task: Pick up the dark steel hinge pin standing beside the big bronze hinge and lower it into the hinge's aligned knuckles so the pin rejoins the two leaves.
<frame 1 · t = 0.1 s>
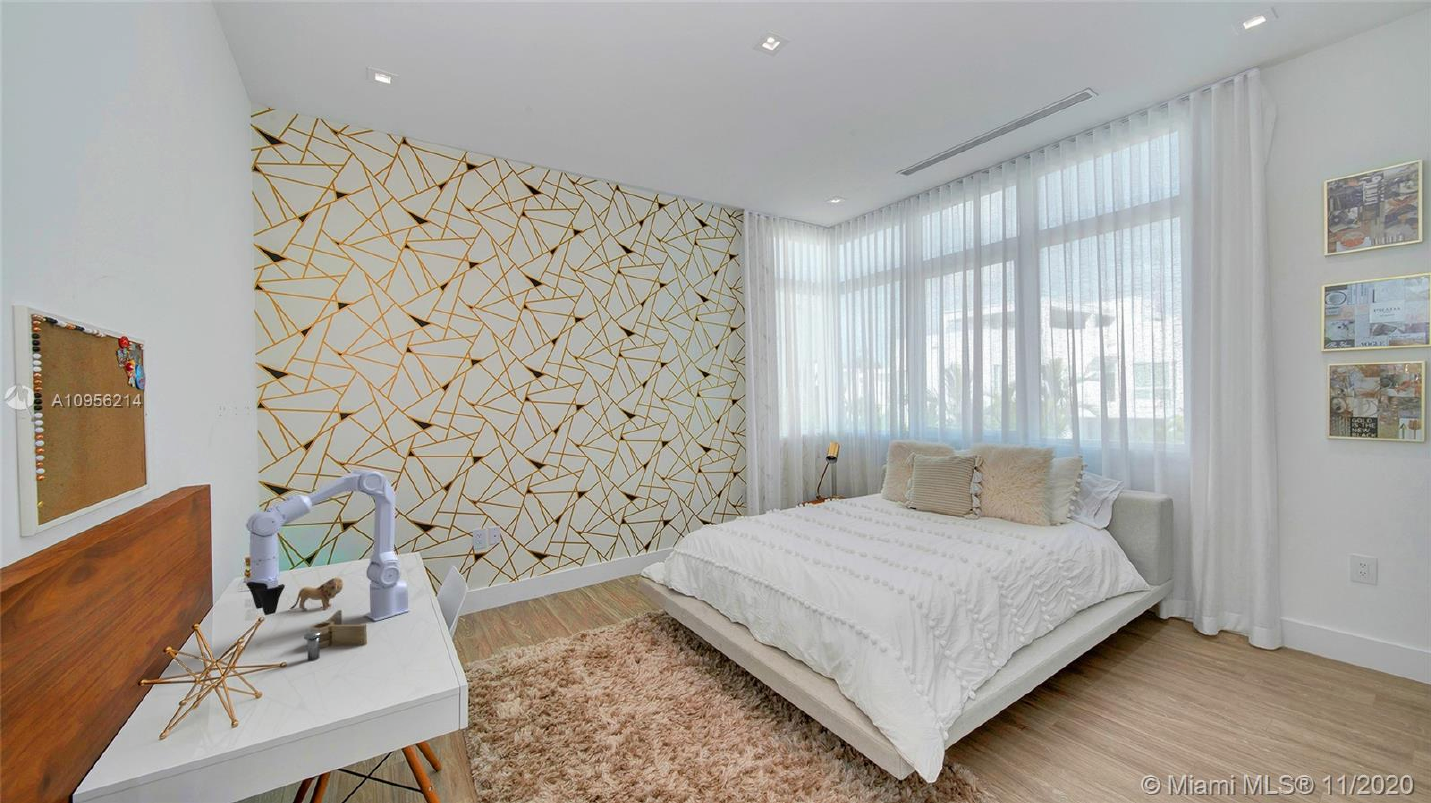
hand: (265, 610, 140), 10 cm above the table, tool pointing down, fingers open, 7 cm apart
leaf b: (329, 627, 147), point 2 cm above the table, hinge at 0.0°
hinge pin: (313, 658, 134), on the table
leaf a: (322, 644, 142), on the table
lion figurine: (319, 608, 169), on the table
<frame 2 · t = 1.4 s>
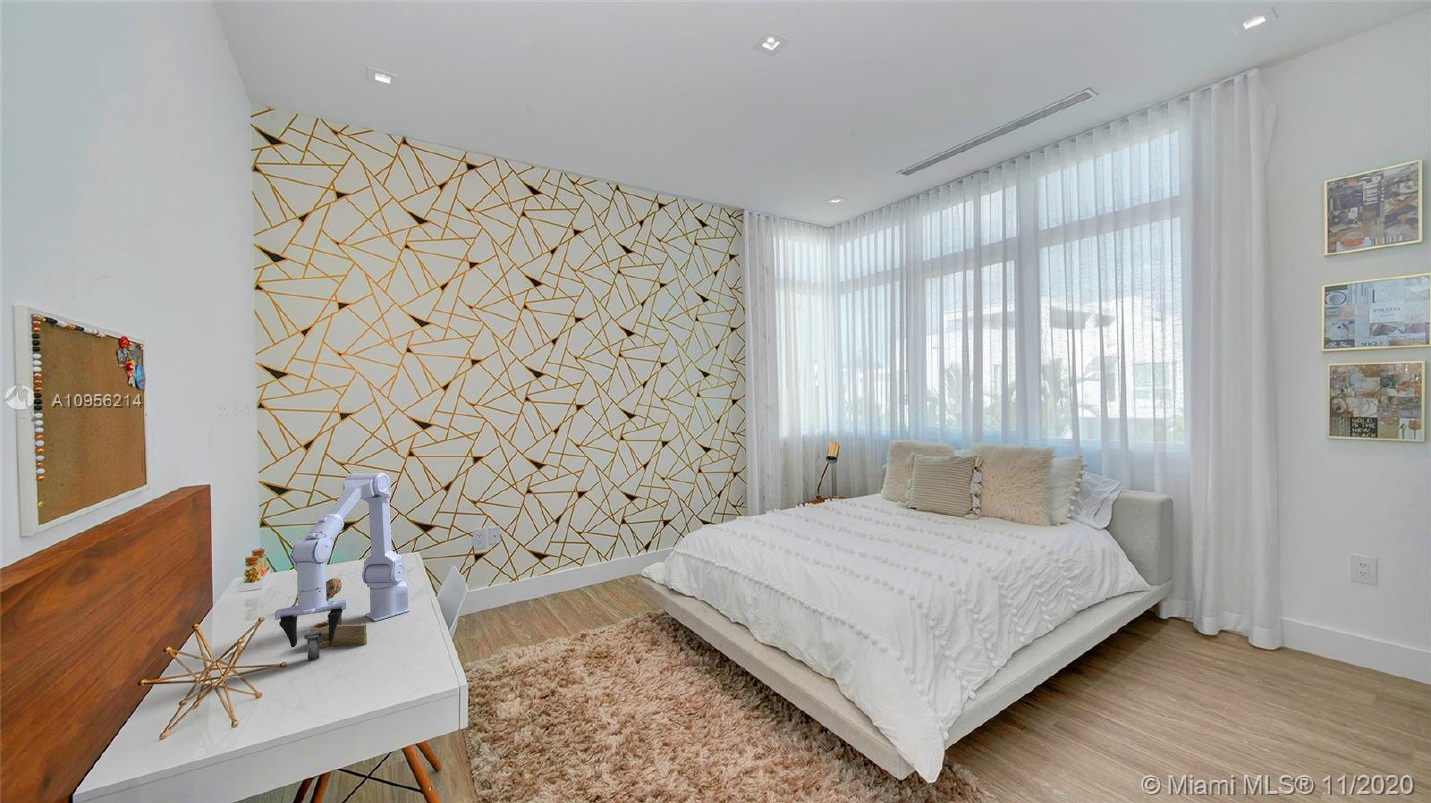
hand: (313, 642, 134), 4 cm above the table, tool pointing down, fingers open, 7 cm apart
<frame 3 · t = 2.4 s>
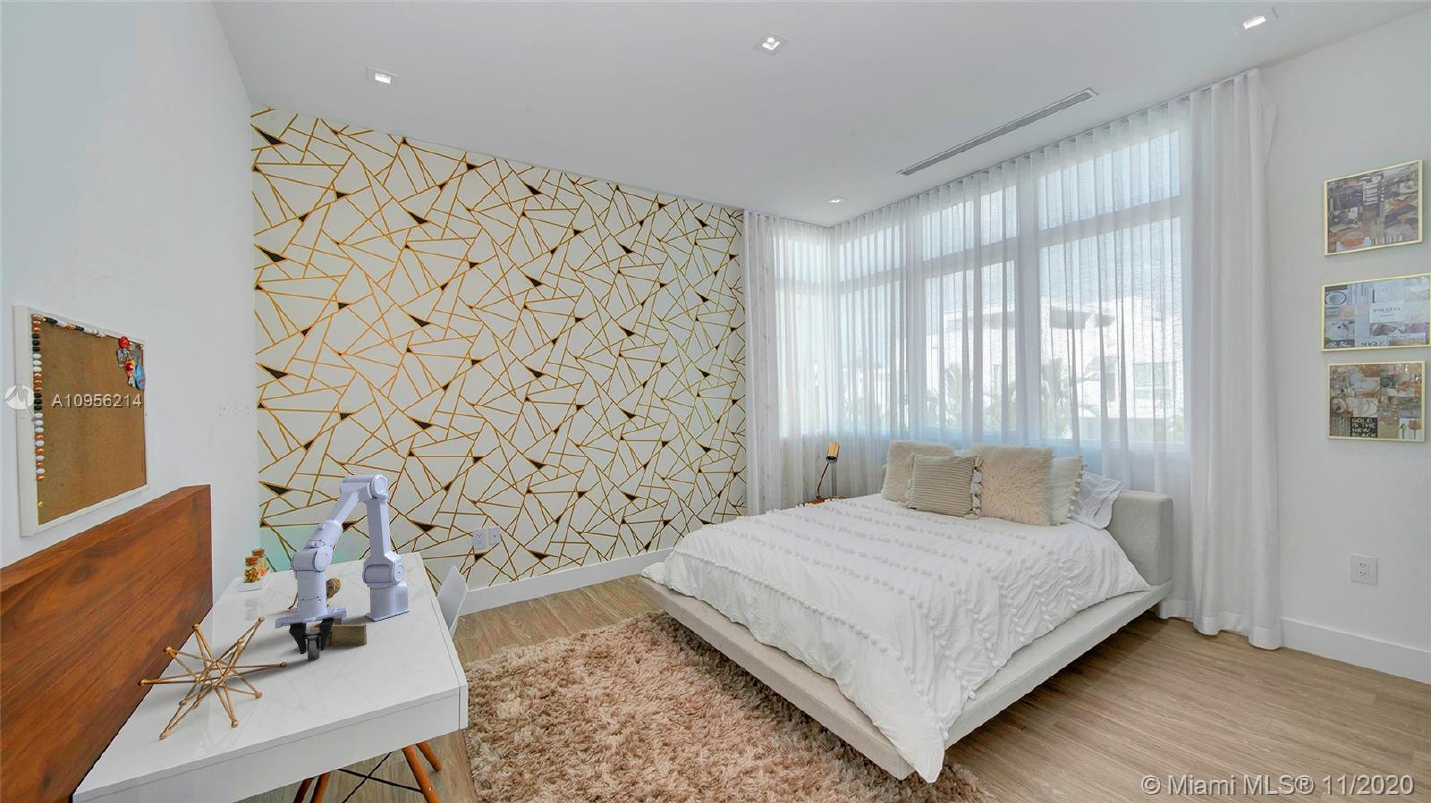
hand: (313, 650, 134), 2 cm above the table, tool pointing down, fingers closed on hinge pin, 3 cm apart
hinge pin: (313, 658, 134), on the table, touching gripper
everything else where it was.
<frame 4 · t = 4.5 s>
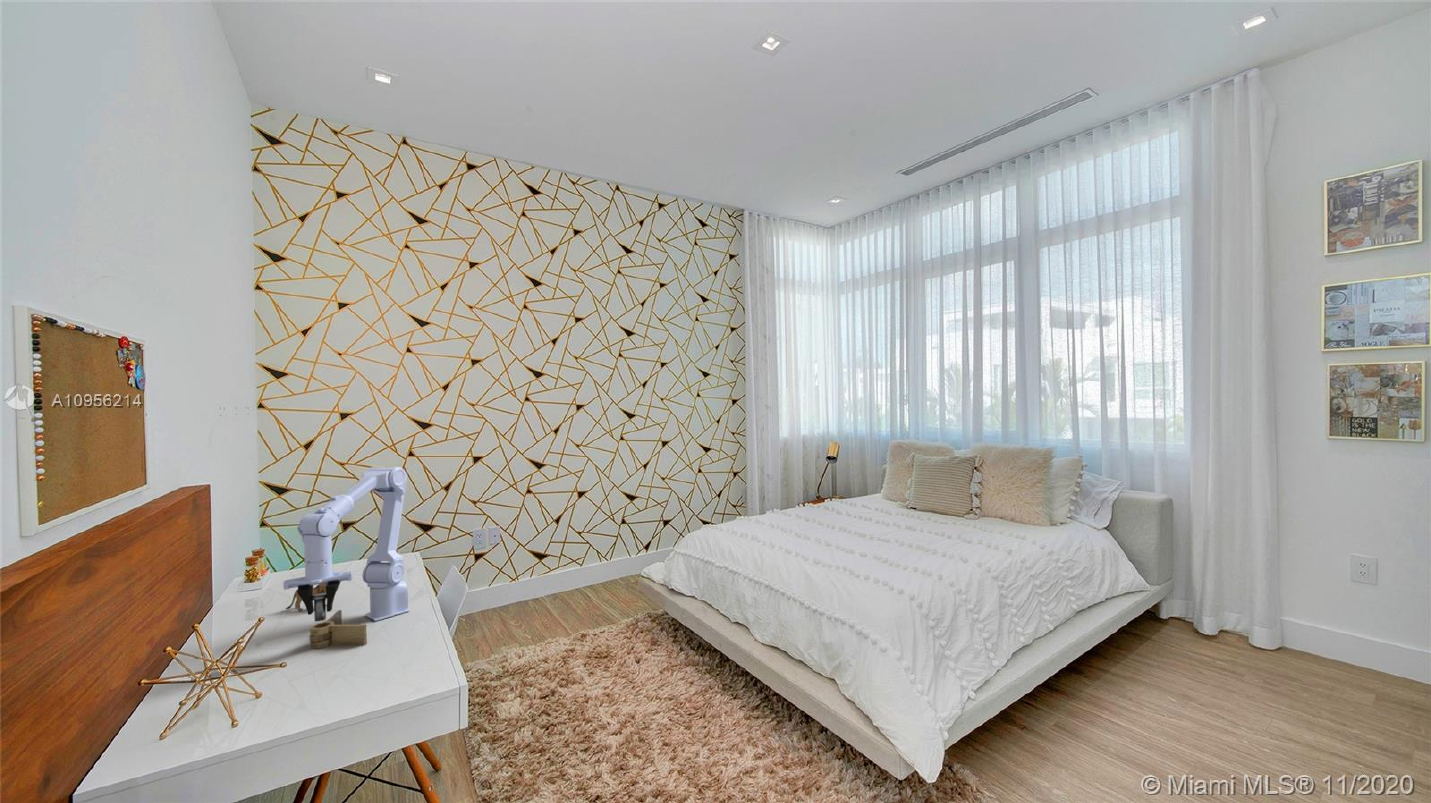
hand: (320, 611, 140), 9 cm above the table, tool pointing down, fingers closed on hinge pin, 3 cm apart
hinge pin: (320, 619, 140), point 7 cm above the table, touching gripper
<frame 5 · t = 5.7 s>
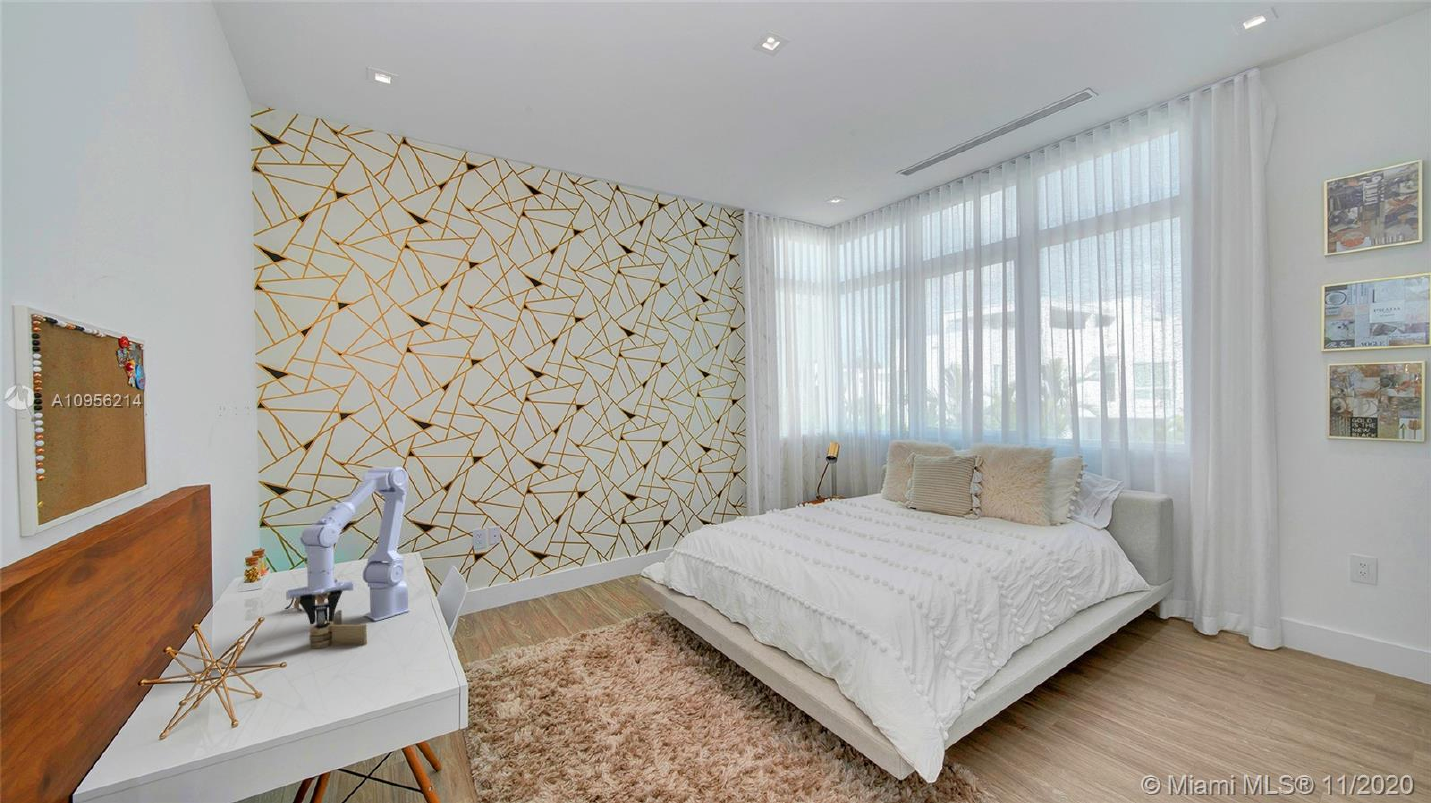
hand: (322, 621, 142), 6 cm above the table, tool pointing down, fingers closed on hinge pin, 3 cm apart
hinge pin: (322, 628, 142), point 4 cm above the table, touching gripper
when the fingers open (6 cm above the table, at t = 6.5 s): hinge pin drops 4 cm, resting in leaf a.
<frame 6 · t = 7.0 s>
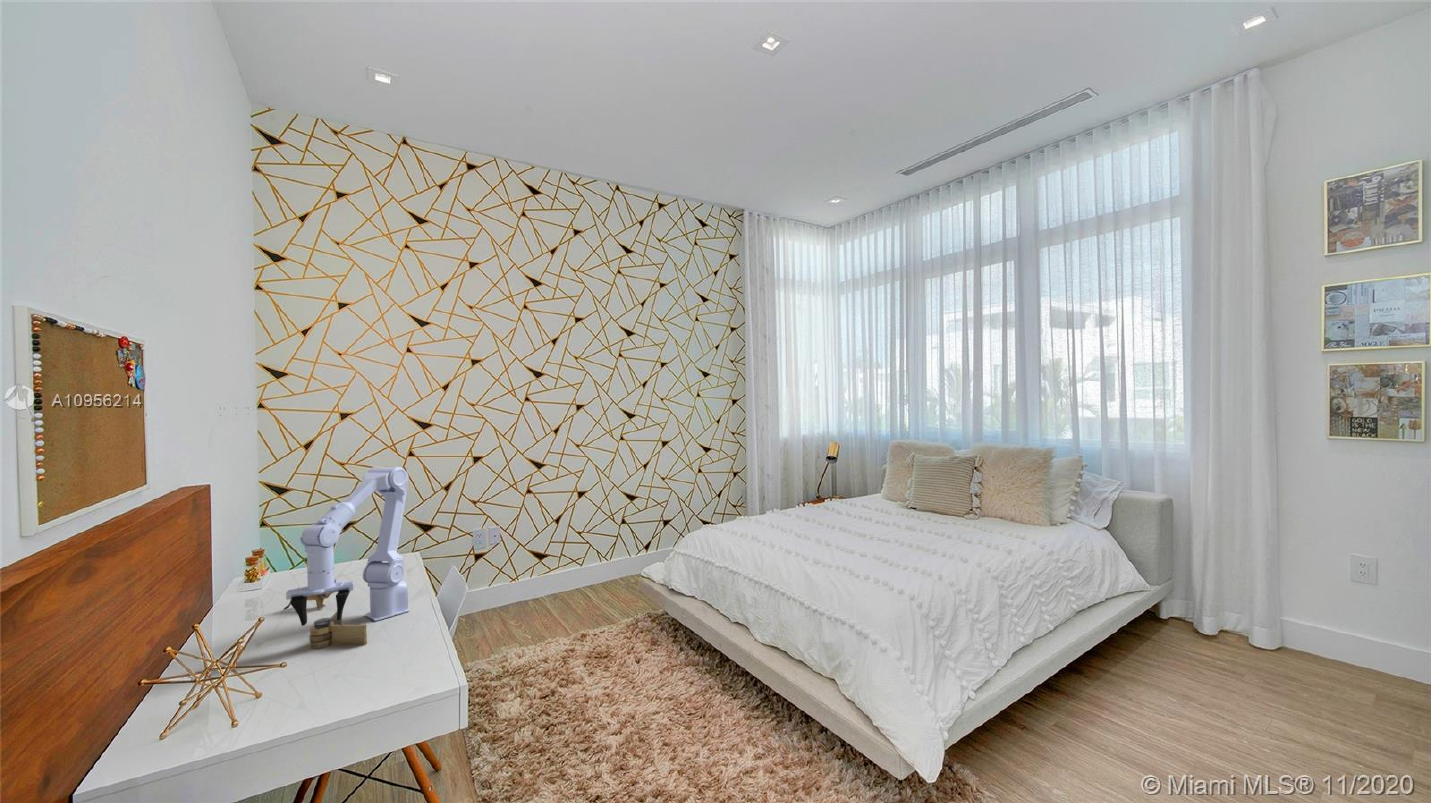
hand: (322, 621, 142), 6 cm above the table, tool pointing down, fingers open, 7 cm apart
hinge pin: (322, 644, 142), resting in leaf a
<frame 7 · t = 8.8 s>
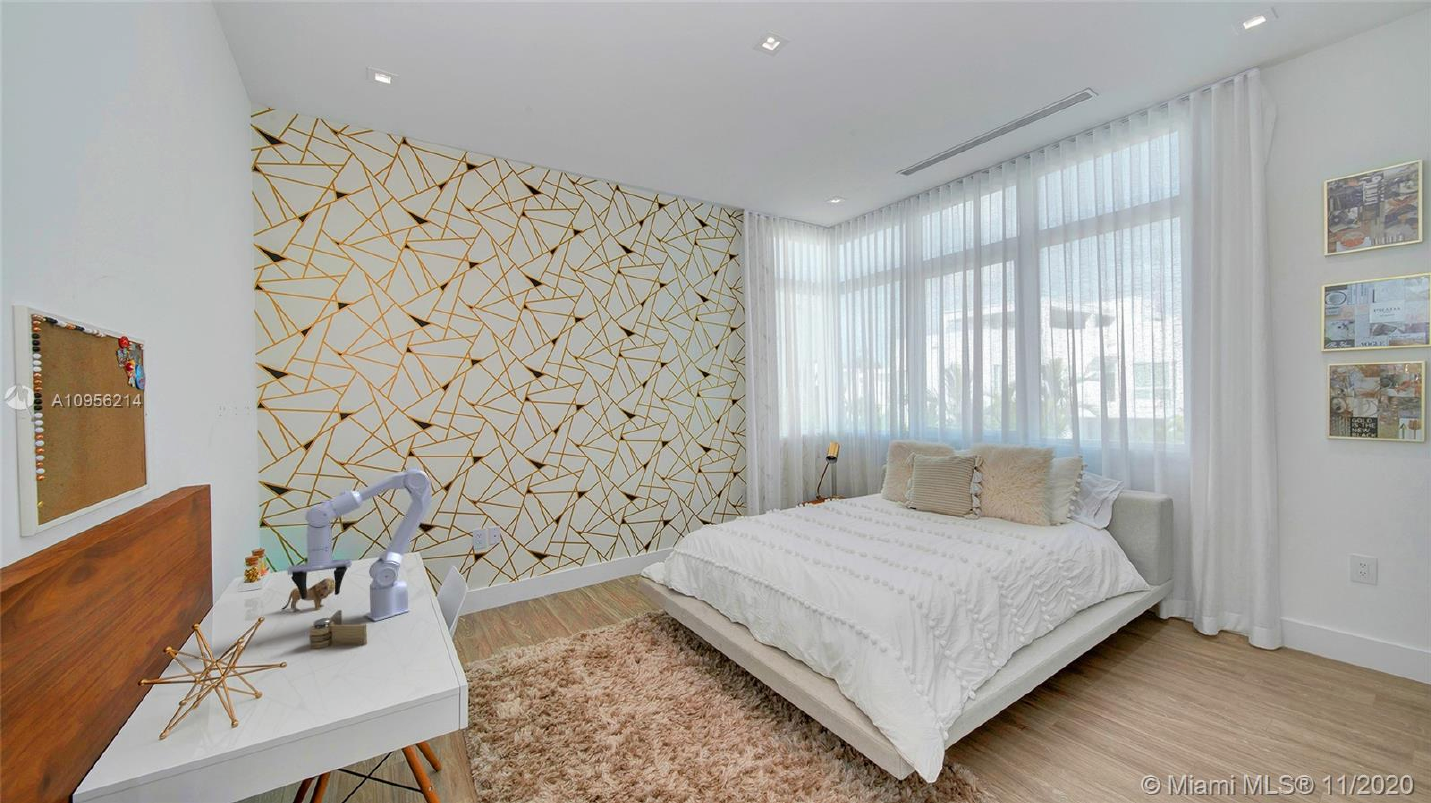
hand: (320, 595, 152), 9 cm above the table, tool pointing down, fingers open, 7 cm apart
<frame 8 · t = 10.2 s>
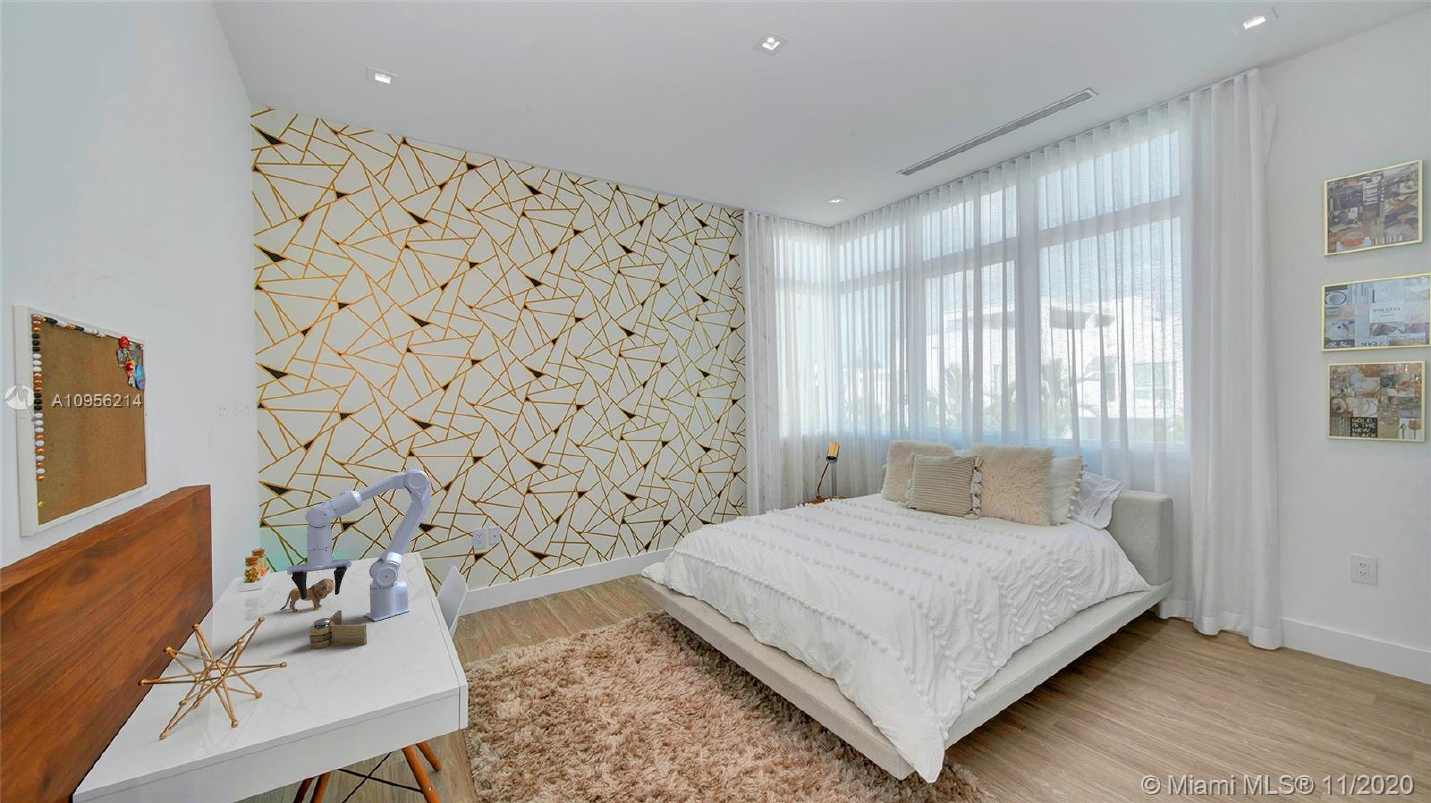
hand: (320, 595, 152), 9 cm above the table, tool pointing down, fingers open, 7 cm apart
at the end: hinge pin 0.2 cm off-centre on the leaf a, point 0.0 cm above the leaf a's base; hinge pin tilted 0°; the gripper is holding nothing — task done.
